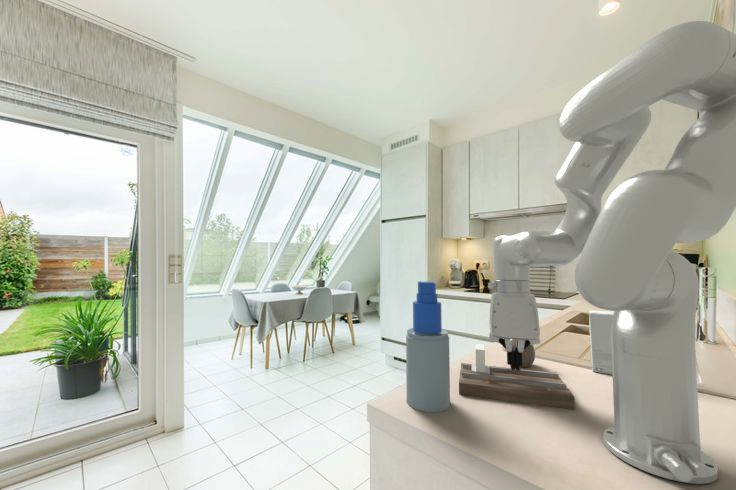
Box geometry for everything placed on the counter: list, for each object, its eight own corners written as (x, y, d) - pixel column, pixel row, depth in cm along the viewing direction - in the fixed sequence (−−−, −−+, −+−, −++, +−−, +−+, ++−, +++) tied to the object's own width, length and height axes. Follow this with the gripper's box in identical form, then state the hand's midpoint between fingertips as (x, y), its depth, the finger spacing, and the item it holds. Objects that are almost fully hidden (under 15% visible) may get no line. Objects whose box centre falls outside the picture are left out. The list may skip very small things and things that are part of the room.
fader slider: (490, 378, 70) (489, 350, 71) (471, 375, 72) (471, 348, 72) (489, 370, 75) (488, 344, 76) (471, 368, 76) (471, 343, 77)
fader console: (574, 409, 61) (574, 391, 61) (459, 394, 68) (458, 377, 68) (556, 383, 74) (556, 368, 75) (461, 372, 81) (461, 359, 82)
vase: (536, 363, 89) (535, 332, 89) (534, 370, 83) (533, 337, 83) (510, 359, 92) (509, 330, 93) (506, 366, 87) (505, 334, 87)
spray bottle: (398, 404, 63) (398, 281, 65) (418, 389, 71) (417, 279, 72) (439, 416, 58) (438, 283, 60) (456, 399, 66) (454, 281, 67)
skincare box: (622, 377, 78) (619, 315, 79) (590, 371, 82) (588, 312, 83) (620, 368, 85) (618, 311, 86) (591, 363, 89) (589, 308, 90)
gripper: (478, 288, 71) (480, 370, 70) (552, 289, 66) (556, 377, 65) (477, 286, 78) (479, 360, 77) (544, 287, 73) (547, 366, 72)
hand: (514, 368), depth 71 cm, fingers closed
